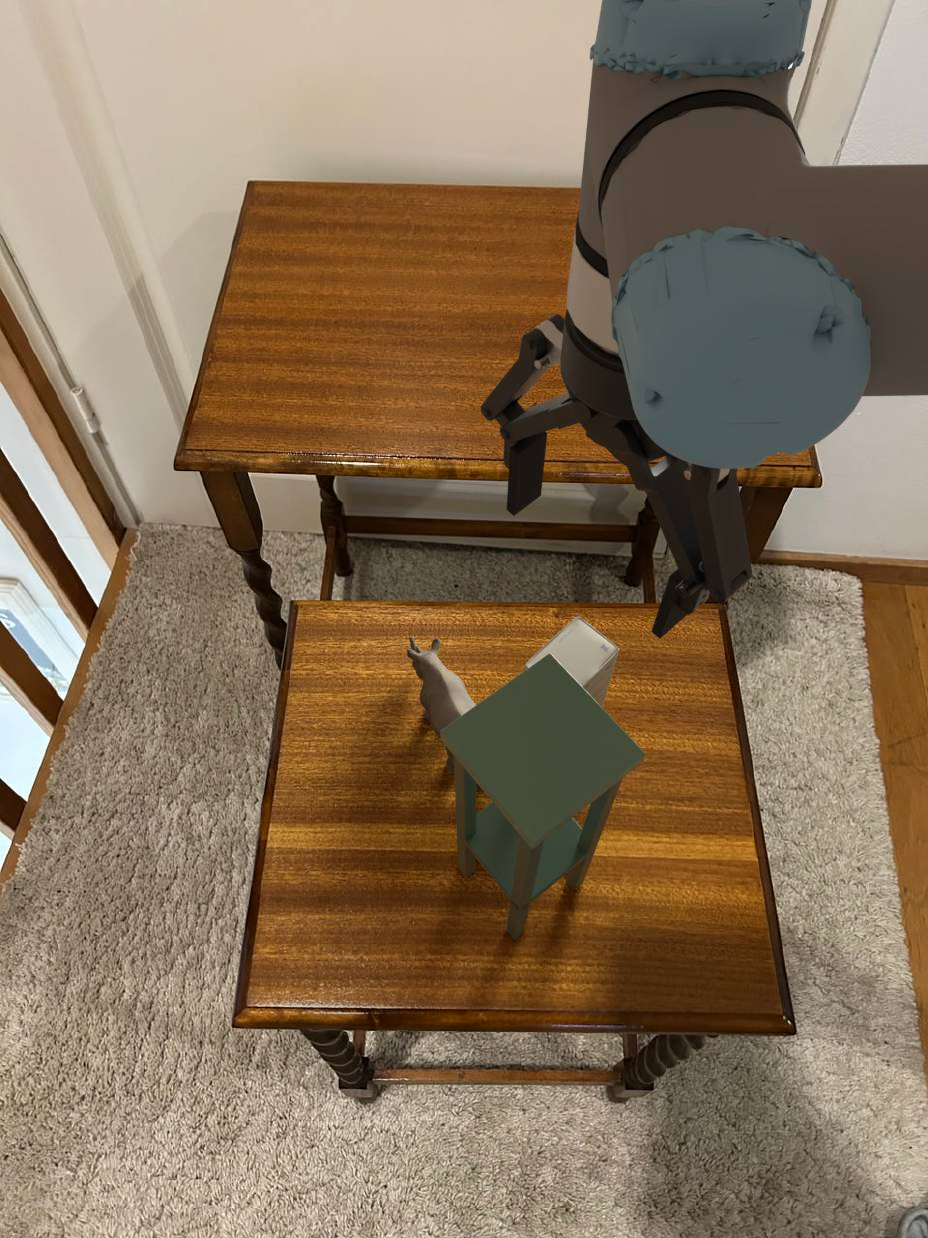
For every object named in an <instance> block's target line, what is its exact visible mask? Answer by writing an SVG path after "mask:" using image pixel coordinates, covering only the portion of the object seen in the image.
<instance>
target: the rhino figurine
mask: <svg viewBox="0 0 928 1238" xmlns="http://www.w3.org/2000/svg"><path fill="white" fill-rule="evenodd" d="M409 644H410V648H407V649H406V652H407V653H406V655H407V658H409V659H411V660H412V663H411V665H412V668H413V670H414V671H415V674H416V676H417V677H418V679H419V680H422V685H421V690H420V692H419V702H420V705H421V707H422V708H424V719H425V720H427V721H428V722H430V725H431V728H432V731H433V732H434V734H435V736H436V737H437V738H438V739H439V740H441V735H440V731H441V730H442V729H444V728H445V727H446V726H448V725H449V724H451V723H452V722H453V721H455V720H456V719H458V718H459V717H461V716H462V715H463V714H465V713H466V712H468V711H469V710H470V709H472V708H473V707H475V706H476V705H477V704H476V703H475V702H474V700H473V699H472V697H471V696H470V694H469V693H468V691H467V687H466V685H465V683H464V682H463V680H462V679H461V678H460V676H459V675H457V674H456V673H455V672H453V671H451V670H449V669H448V668H447V667H446V666H445V665H444V663H443V662H442V661H441V660H440V658H439V657H438V652H439V650H440V647H441V644H442V643H441V640H440V638H438V637H436V638H434V639H433V640H432V642H431V647H430V649H429V650H424V651H423V650H422V649H421V648H420V647H419V646H418V644H417V643H416V642H415V639H414V638H413V636H412V635H410V636H409ZM444 747H445V752H446V754H447V759H446V770H447V771H449V772H451V773H453V774H454V755H453V754H452V753H451V751H450V750H449V749H448V748H447V747H446V745H445V744H444Z"/></svg>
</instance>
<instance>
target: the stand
mask: <svg viewBox="0 0 928 1238" xmlns="http://www.w3.org/2000/svg"><path fill="white" fill-rule="evenodd" d="M453 774H454V797H455V798H454V801H455V823H456V825H455V826H456V829H455V830H456V852H457V869H458V871H460V873H461V874H462V875H463V876H464V878H467V877H468V876H470V875H471V874H472V873H474V872H475V871H476V860H477V861H478V862H479V864H480V865H481V867H483V870H485V871H486V873H487V874H488V875H489V876H490V877H491V879H492V880H493V882H495V884H496V885H497V886H498V887H499V889H500V890H501V892H503V894H504V895H505V896H506V897H507V899H508V900H509V907H508V915H507V922H506V929H505V930H506V932H507V934H509V935H510V937H511V938H512V940H513V941H515V940H517V939H518V938H519V937H520V936H522V935H523V934H524V933H525V930H526V927H527V926H526V925H527V921H528V916H529V911H530V907H531V904H532V903H533V902H535V900H536V899H538V898H539V897H541V896H542V894H544V893H546V892H547V890H549V889H550V888H551V887H553V886H554V885H555V884H557V882H559V881H560V880H561V879H562V878H564V877H565V876H566V875H567V876H566V879H565V882H566V883H567V884H568V886H569V887H570V888H571V889H572V891H576V890H577V889H579V888H580V887H581V886H582V885H583V884H584V881H585V878H586V876H587V873H588V871H589V868H590V867H591V863H592V860H593V858H594V855H595V852H596V850H597V847H598V844H599V842H600V839H601V837H602V835H603V834H602V833H603V831H604V829H605V827H606V823H607V821H608V818H609V816H610V813H611V810H612V808H613V805H614V802H615V800H616V797H617V795H618V791H619V789H620V786H621V784H622V781H623V779H624V777H623V778H622V779H621V780H620V781H618V782H617V783H616V784H615V785H613V786H612V787H611V788H609V789H608V790H607V791H606V792H604V793H603V794H602V795H601V796H599V797H598V798H597V799H596V800H594V801H593V802H592V803H591V804H589V807H588V809H587V810H588V811H587V814H586V817H585V820H584V822H583V826H582V827H581V826H580V824H579V823H578V822H577V821H576V819H574V817H573V818H572V819H570V820H569V821H568V822H567V823H565V824H564V825H563V826H562V827H560V828H559V829H558V830H556V831H555V832H554V833H553V834H551V835H550V836H549V837H548V838H546V839H545V840H544V841H543V842H541V843H540V844H539V845H538V846H536V847H535V848H534V849H531V848H530V846H529V845H528V844H527V843H526V842H525V840H524V839H523V838H522V837H521V836H520V834H519V833H518V832H517V831H516V830H515V828H514V827H513V826H512V825H511V824H510V822H509V821H508V820H507V819H506V818H505V816H504V815H503V814H502V813H501V812H500V810H499V809H498V808H497V807H496V806H495V804H494V803H493V802H492V801H491V803H490V804H488V805H486V806H485V807H484V808H483V809H482V810H480V811H479V812H477V800H478V799H477V797H478V796H477V794H478V793H477V792H478V786H477V785H478V784H477V783H476V781H475V780H474V779H473V778H472V777H471V775H470V774H469V773H468V772H467V771H466V769H465V768H464V767H463V766H462V765H461V763H460V762H459V761H458V760H457V759H456V757H455V756H454V773H453Z"/></svg>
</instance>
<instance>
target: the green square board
mask: <svg viewBox="0 0 928 1238" xmlns="http://www.w3.org/2000/svg"><path fill="white" fill-rule="evenodd" d="M440 735H441V739H440V741H441V742H442V743H443V744H444V746H445V745H446V747H447V748H448V749H449V750H450V751H451V753H452V754H453V755H454V756H455V757H456V759H457V760H458V761H459V762H460V763H461V765H462V766H463V767H464V768H465V769H466V771H467V772H468V773H469V774H470V775H471V777H472V778H473V779H474V780H475V781H476V783H477V785H478V786H479V787H480V789H481V790H482V791H483V792H484V794H485V795H486V796H487V797H488V799H489V800H490V801H491V803H492V802H493V803H494V804H495V806H496V807H497V808H498V809H499V810H500V812H501V813H502V814H503V815H504V816H505V818H506V819H507V820H508V821H509V822H510V824H511V825H512V826H513V827H514V828H515V830H516V831H517V832H518V833H519V834H520V836H521V837H522V838H523V839H524V840H525V842H526V843H527V844H528V845H529V846H530V848H531V849H534V848H535V847H536V846H538V845H539V844H540V843H541V842H543V841H544V840H545V839H546V838H548V837H549V836H550V835H551V834H553V833H554V832H555V831H556V830H558V829H559V828H560V827H562V826H563V825H564V824H565V823H567V822H568V821H569V820H570V819H572V818H573V819H574V817H576V816H577V815H578V814H579V813H580V812H582V811H583V810H584V809H586V808H587V807H588V806H590V804H591V803H592V802H593V801H594V800H596V799H597V798H598V797H599V796H601V795H602V794H603V793H604V792H606V791H607V790H608V789H609V788H611V787H612V786H613V785H615V784H616V783H617V782H618V781H620V780H621V779H622V778H623V779H624V778H625V777H626V776H627V775H629V774H630V773H631V772H632V771H634V769H636V768H637V767H639V766H640V765H642V763H643V761H644V760H645V757H646V752H645V751H644V750H643V749H642V748H641V747H640V746H639V744H637V743H636V741H635V740H633V738H631V737H630V735H629V734H627V732H626V731H625V730H624V729H623V728H622V727H621V725H619V724H618V723H617V722H616V721H615V720H614V718H613V717H612V716H611V715H610V714H609V713H608V712H607V711H606V710H605V709H604V708H602V707H601V706H600V705H599V704H598V703H597V702H596V701H595V700H594V699H593V698H592V697H591V696H590V694H589V693H588V692H587V691H586V690H585V689H584V688H583V687H582V686H581V685H580V684H579V683H578V682H577V681H576V680H575V679H574V678H573V677H572V675H571V674H570V673H569V672H568V671H567V670H566V669H565V668H564V667H563V666H562V665H561V664H560V663H559V662H558V661H557V660H556V659H555V658H554V656H553V655H552V654H551V653H549V654H548V655H546V656H545V657H543V658H542V659H541V660H539V661H538V662H536V663H535V664H534V665H532V666H531V667H529V668H528V669H527V670H525V669H524V671H522V672H521V673H520V674H518V675H517V676H515V677H514V678H512V679H511V680H509V681H508V682H507V683H505V684H504V685H503V686H500V688H498V689H497V690H495V691H494V692H493V693H491V694H490V695H489V696H487V697H486V698H484V699H483V700H481V701H480V702H479V703H478V704H476V706H475V707H473V708H472V709H470V710H469V711H468V712H466V713H465V714H463V715H462V716H461V717H459V718H458V719H456V720H455V721H453V722H452V723H451V724H449V725H448V726H446V727H445V728H444V729H442V730H441V731H440ZM623 779H622V780H623Z"/></svg>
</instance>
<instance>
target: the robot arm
mask: <svg viewBox="0 0 928 1238" xmlns="http://www.w3.org/2000/svg"><path fill="white" fill-rule="evenodd" d="M812 3H813V0H601V5H600V12H599V16H598V17H599V18H598V25H597V31H596V37H595V42H594V44H592V45H591V47H590V50H589V60H590V61H592V66H591V67H592V68H591V78H590V89H589V99H588V108H587V109H588V111H587V120H586V131H585V142H584V151H583V152H584V153H583V161H582V171H581V173H582V174H581V184H580V193H579V202H578V211H577V217H576V224H575V225H574V226H575V227H574V234H573V242H572V250H571V258H570V266H569V274H568V282H567V289H566V310H565V313H564V314H565V315H564V317H563V316H562V315H560V314H558V313H555V314H553V315H552V316H550V317H549V318H547V319H545V320H544V321H543V322H540V323H539V324H538V325H536V326H535V327H534V328H532V329H531V330H529V331H528V332H526V333H525V334H523V335H522V337H521V342H520V348H519V354H518V358H517V359H516V361H515V362H513V364H512V366H511V367H510V368H509V369H508V371H507V372H506V374H504V376H503V377H502V379H501V380H500V381H499V382H498V384H497V385H496V386H495V387H494V389H493V390H492V391H491V392H490V394H489V395H488V396H487V398H486V399H485V400H484V401H483V402H482V404H481V405H480V413H481V414H482V416H483V417H484V418H485V419H486V420H487V421H489V422H492V421H493V420H495V421H496V422H497V424H498V425H499V426H500V427H499V434H500V436H501V438H502V439H503V457H502V459H503V464H504V466H505V468H506V469H508V477H507V493H506V511H507V512H508V513H510V515H512V516H513V517H515V516H516V515H517V514H519V513H520V512H522V511H523V510H524V509H525V508H527V507H528V506H529V505H530V504H532V503H534V502H535V501H536V500H538V499H539V498H540V497H541V496H542V491H543V490H542V489H543V481H544V471H545V461H546V450H547V441H548V431H551V430H554V429H558V430H561V429H565V428H568V427H570V426H573V425H576V424H580V425H581V427H582V429H583V430H584V431H585V436H586V438H588V439H589V440H590V441H592V442H593V443H594V444H597V445H599V446H600V447H603V448H605V449H606V451H608V452H609V453H610V455H612V456H613V457H614V459H615V460H617V461H618V462H619V463H621V465H624V466H625V467H626V468H627V470H628V474H629V476H630V477H631V480H632V482H633V485H634V488H636V490H637V491H639V492H645V494H646V496H647V499H648V501H649V503H650V506H651V508H652V510H653V513H654V516H655V517H656V520H657V522H658V525H659V527H660V529H661V532H662V534H663V537H664V539H665V541H666V544H667V546H668V549H669V551H670V553H671V555H672V558H673V560H674V562H675V563H674V564H675V565H676V567H677V569H676V570H675V571H673V572H672V573H671V574H670V575H669V577H668V579H667V583H666V585H665V589H664V592H663V595H662V597H661V601H660V604H659V607H658V610H657V612H656V616H655V618H654V622H653V625H652V628H651V633H652V634H654V635H655V636H656V637H657V638H658V639H662V638H663V637H664V636H665V635H667V633H668V632H670V631H671V630H672V629H673V628H674V627H675V626H677V624H678V623H680V622H681V621H682V620H683V619H684V618H685V617H686V616H687V615H688V616H689V615H692V614H694V612H696V611H697V610H698V609H699V608H700V607H701V606H702V605H703V604H705V602H707V601H708V600H709V597H710V596H711V598H712V599H713V600H714V601H715V602H717V603H719V604H724V603H726V602H727V601H728V600H729V599H730V598H731V597H732V596H734V595H735V594H736V593H737V592H738V591H739V590H740V589H742V587H744V585H746V584H747V583H749V581H750V580H751V579H752V578H753V576H754V575H753V569H752V561H751V557H750V549H749V542H748V537H747V531H746V525H745V524H746V523H745V517H744V512H743V505H742V500H741V493H740V486H739V480H738V469H746V468H748V469H749V468H754V467H758V466H760V465H762V463H763V461H764V460H765V459H766V458H768V457H770V456H774V455H778V454H779V453H782V454H787V455H791V456H794V455H797V454H799V453H802V452H805V451H806V450H808V449H810V448H812V447H813V446H815V445H817V444H818V443H820V442H821V441H823V440H824V439H825V438H827V437H828V436H829V435H831V434H832V433H833V432H835V431H836V430H837V429H838V428H839V427H841V426H842V425H843V424H844V422H845V421H846V420H847V419H848V418H849V417H850V415H852V413H853V412H854V411H855V409H856V407H857V406H858V405H859V403H860V401H861V399H862V398H863V397H907V396H908V397H909V396H910V397H911V396H913V397H915V396H928V164H927V163H926V164H925V163H924V164H922V163H921V164H919V163H918V164H917V163H915V164H914V163H912V164H911V163H910V164H908V163H907V164H837V165H836V164H835V165H834V164H833V165H832V164H831V165H827V164H826V165H812V164H810V162H809V160H808V159H807V156H806V150H805V148H804V146H803V143H802V140H801V138H800V135H799V133H798V130H797V126H796V124H795V121H794V119H793V116H792V113H791V110H790V105H789V96H790V90H791V85H792V82H793V79H794V76H795V73H796V70H797V68H798V67H800V66H801V64H802V63H803V61H804V57H805V54H806V53H805V50H804V44H805V38H806V33H807V28H808V23H809V17H810V13H811V8H812ZM557 365H560V375H561V378H562V380H563V383H564V386H565V388H566V391H567V392H565V393H563V394H560V395H558V396H555V397H553V398H550V399H547V400H546V401H543V402H540V403H537V402H534V403H533V404H532V405H530V406H529V407H527V408H526V409H524V407H523V406H522V405H521V403H519V402H520V401H521V400H522V399H523V398H524V397H526V395H527V393H529V391H530V390H531V389H532V388H533V387H534V385H536V384H537V382H538V381H539V380H540V379H541V378H542V376H543V375H544V374H545V373H546V372H547V371H548V369H552V368H554V367H555V366H557ZM661 458H663V459H662V460H660V461H659V462H658V463H656V464H655V465H654V466H652V467H650V464H649V463H650V462H653V461H656V460H659V459H661Z"/></svg>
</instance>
